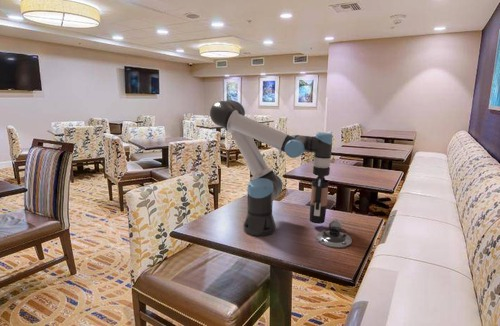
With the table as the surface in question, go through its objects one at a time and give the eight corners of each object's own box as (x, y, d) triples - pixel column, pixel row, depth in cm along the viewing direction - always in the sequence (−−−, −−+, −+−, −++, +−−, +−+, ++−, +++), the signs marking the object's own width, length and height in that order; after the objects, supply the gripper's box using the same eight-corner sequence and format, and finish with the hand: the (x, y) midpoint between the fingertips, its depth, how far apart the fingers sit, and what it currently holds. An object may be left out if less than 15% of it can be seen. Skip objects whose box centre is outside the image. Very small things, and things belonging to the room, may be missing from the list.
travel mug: (325, 224, 148) (329, 183, 143) (308, 222, 149) (312, 182, 145) (324, 218, 155) (328, 179, 151) (309, 216, 157) (312, 177, 152)
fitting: (314, 244, 134) (315, 232, 133) (319, 225, 154) (320, 214, 153) (351, 250, 130) (352, 237, 129) (351, 229, 150) (352, 218, 149)
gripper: (328, 171, 136) (323, 221, 141) (331, 162, 155) (327, 206, 160) (310, 170, 138) (306, 219, 143) (315, 161, 157) (312, 204, 162)
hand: (317, 212), depth 151 cm, fingers closed on travel mug, 8 cm apart
